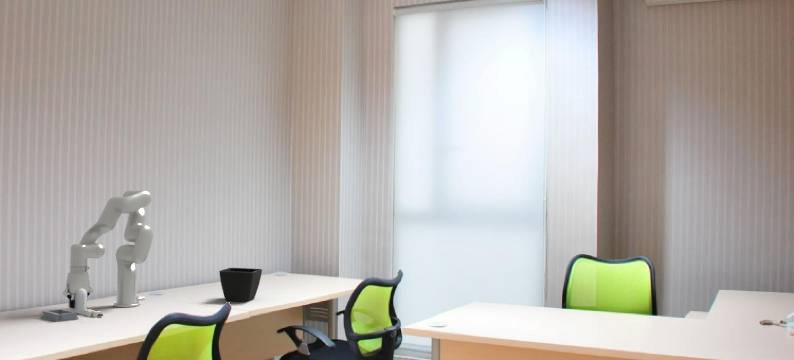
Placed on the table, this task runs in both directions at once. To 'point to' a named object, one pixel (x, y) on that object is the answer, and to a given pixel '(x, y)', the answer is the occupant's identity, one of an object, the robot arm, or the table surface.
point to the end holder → (59, 315)
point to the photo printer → (79, 301)
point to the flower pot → (240, 283)
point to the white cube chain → (93, 313)
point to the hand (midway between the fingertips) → (77, 306)
